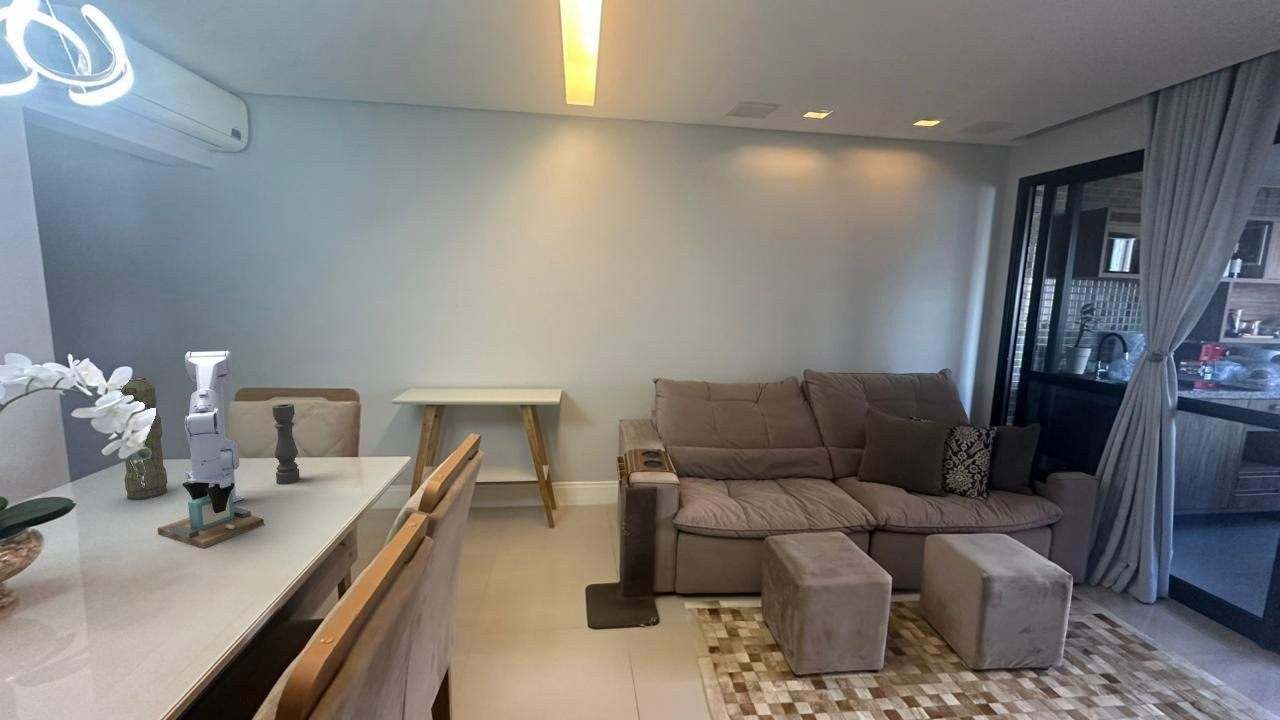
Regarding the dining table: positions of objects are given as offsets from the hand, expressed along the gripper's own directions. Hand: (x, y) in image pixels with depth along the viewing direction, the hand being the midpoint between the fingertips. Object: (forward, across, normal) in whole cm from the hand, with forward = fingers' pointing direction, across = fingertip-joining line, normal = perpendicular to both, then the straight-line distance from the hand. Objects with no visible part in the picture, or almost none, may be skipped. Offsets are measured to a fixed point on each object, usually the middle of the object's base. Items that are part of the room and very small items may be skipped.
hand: (210, 509), depth 130 cm
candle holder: (+6, -15, +30) cm, 34 cm away
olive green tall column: (+6, -41, +6) cm, 42 cm away
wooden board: (+5, 0, 0) cm, 5 cm away
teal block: (+4, 0, 0) cm, 4 cm away
